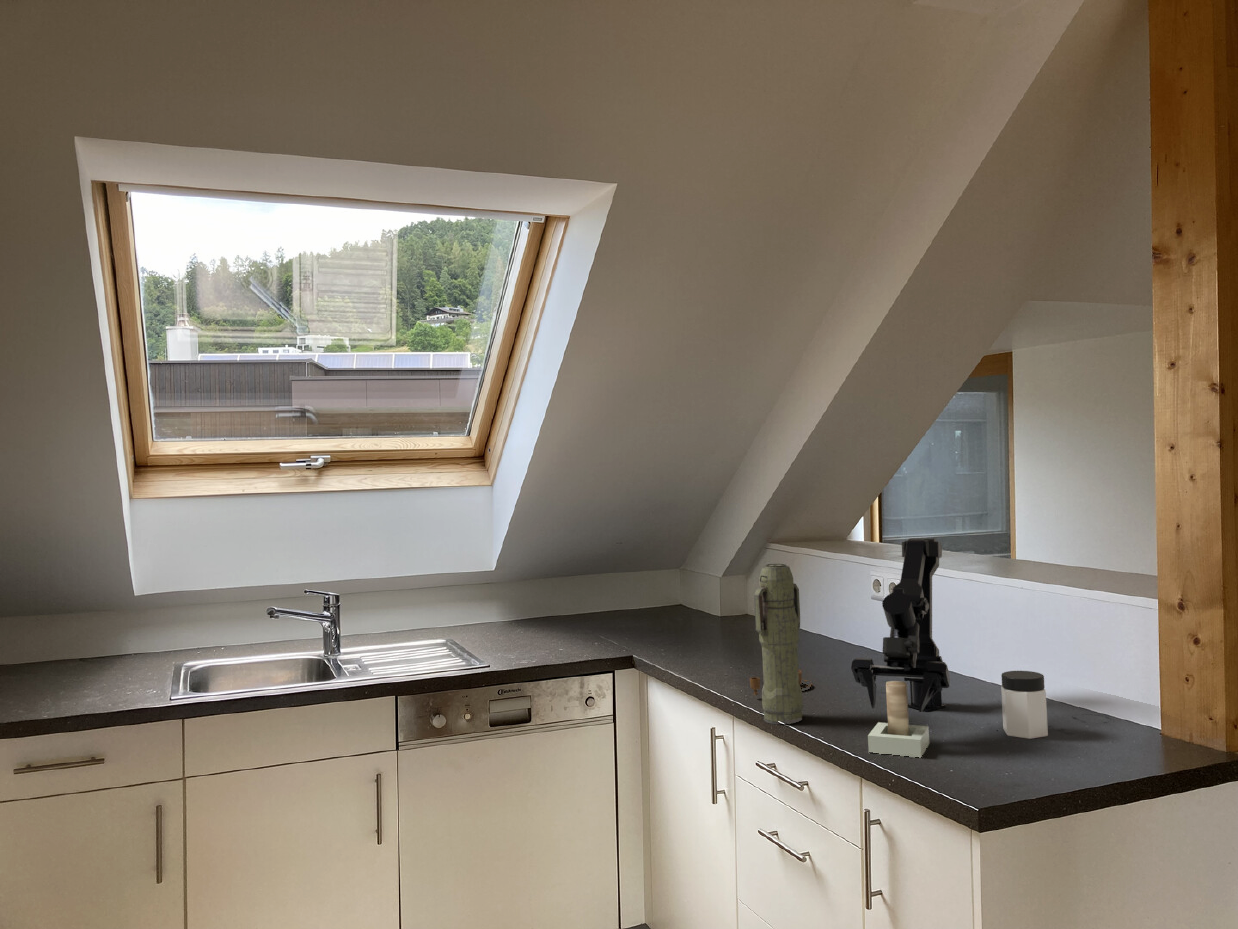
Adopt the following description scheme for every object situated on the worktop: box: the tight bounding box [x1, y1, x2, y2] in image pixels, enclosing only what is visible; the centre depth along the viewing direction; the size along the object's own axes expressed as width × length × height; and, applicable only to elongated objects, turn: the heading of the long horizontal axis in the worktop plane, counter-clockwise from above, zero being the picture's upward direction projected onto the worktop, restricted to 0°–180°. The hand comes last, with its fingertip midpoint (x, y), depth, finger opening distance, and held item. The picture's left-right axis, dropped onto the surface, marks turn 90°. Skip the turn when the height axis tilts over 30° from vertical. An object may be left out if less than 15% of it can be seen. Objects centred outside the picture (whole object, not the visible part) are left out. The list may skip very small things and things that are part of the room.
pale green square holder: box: [867, 721, 930, 759], centre depth 190 cm, size 10×10×4 cm
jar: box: [1000, 670, 1049, 740], centre depth 197 cm, size 9×8×12 cm
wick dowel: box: [885, 680, 910, 736], centre depth 190 cm, size 4×4×13 cm
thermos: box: [753, 563, 804, 726], centre depth 216 cm, size 9×12×35 cm
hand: (896, 709), depth 189 cm, fingers open, 9 cm apart
